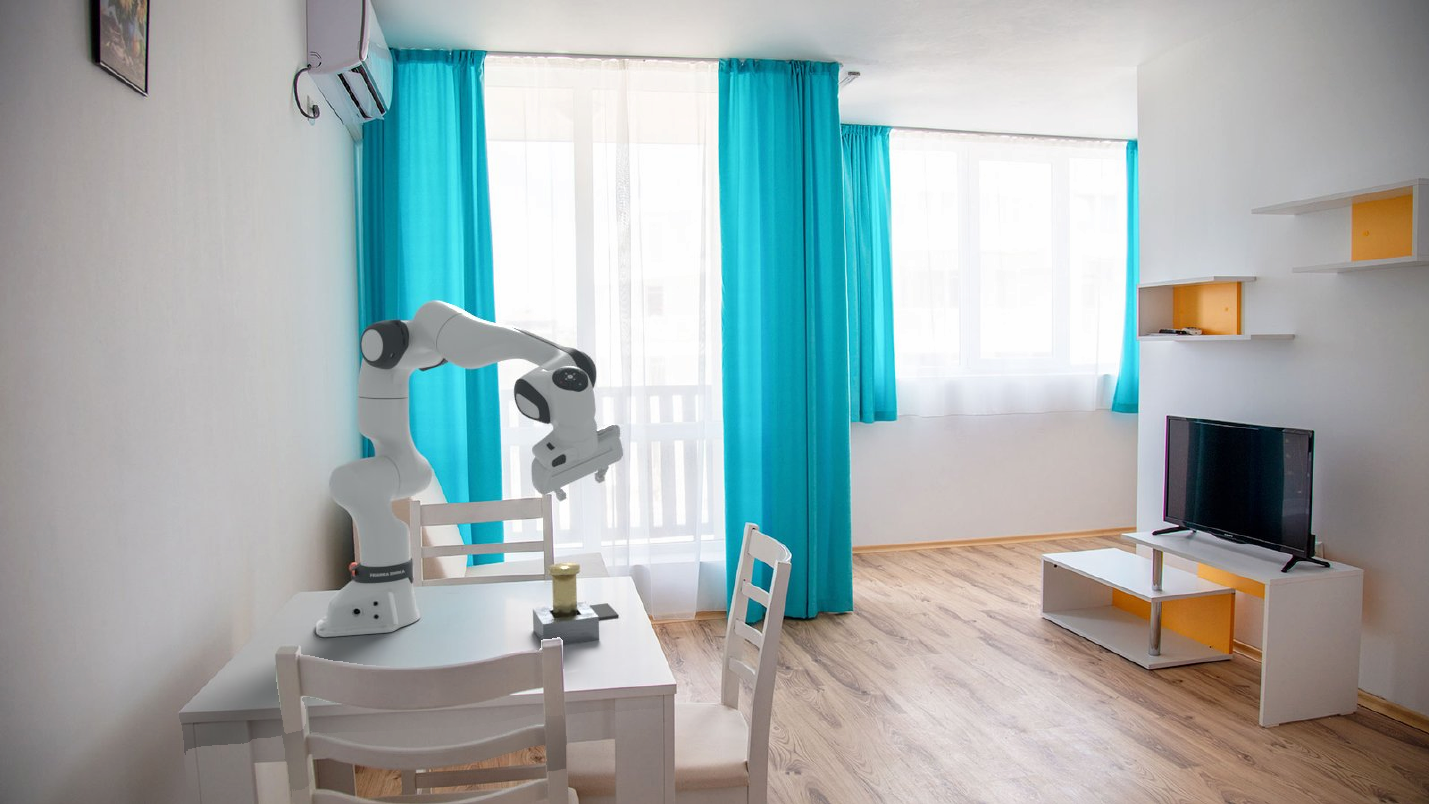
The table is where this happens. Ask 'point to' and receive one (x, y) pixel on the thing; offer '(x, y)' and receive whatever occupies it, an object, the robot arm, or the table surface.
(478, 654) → the table surface
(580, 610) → the housing
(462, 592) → the table surface
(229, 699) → the table surface
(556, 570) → the brass flanged peg
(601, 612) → the mat
